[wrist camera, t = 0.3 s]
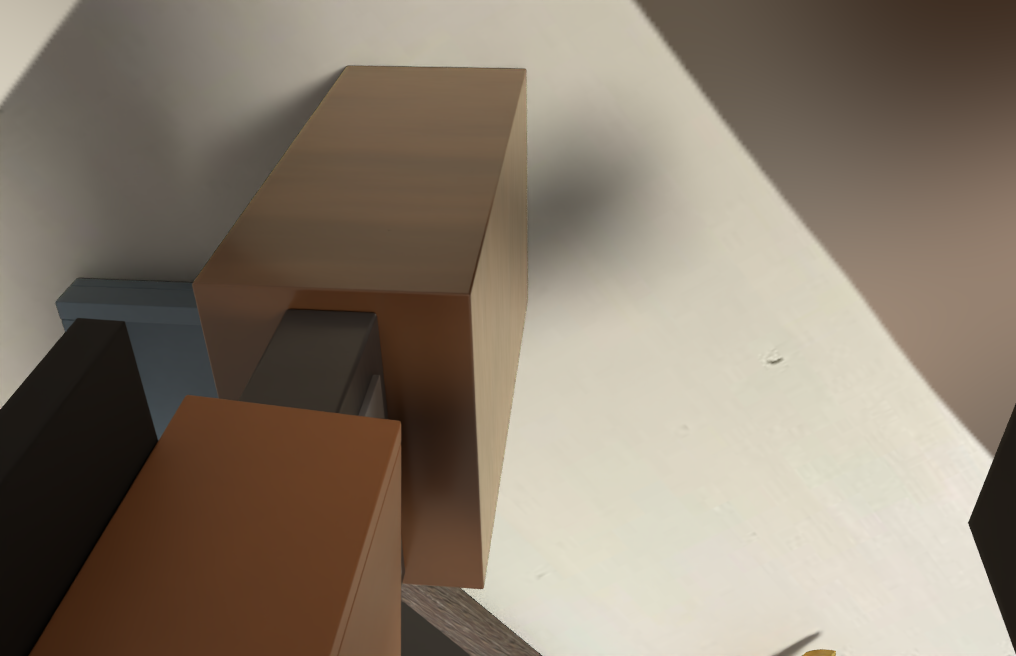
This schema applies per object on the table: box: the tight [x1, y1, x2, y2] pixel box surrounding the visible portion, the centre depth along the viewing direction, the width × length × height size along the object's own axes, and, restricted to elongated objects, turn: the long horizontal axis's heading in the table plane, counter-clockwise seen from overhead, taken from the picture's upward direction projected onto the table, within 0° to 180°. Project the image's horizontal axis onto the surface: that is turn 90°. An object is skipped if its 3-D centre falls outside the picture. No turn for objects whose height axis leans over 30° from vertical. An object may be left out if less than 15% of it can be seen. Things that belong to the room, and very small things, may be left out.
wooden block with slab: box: [192, 66, 528, 589], centre depth 24 cm, size 9×6×26 cm, turn 1°
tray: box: [55, 278, 218, 441], centre depth 41 cm, size 14×12×2 cm
